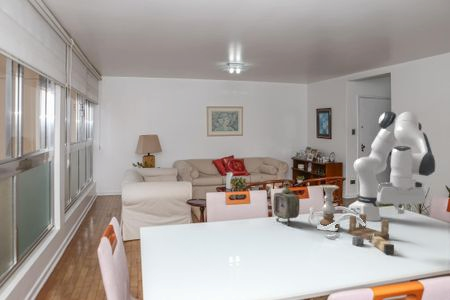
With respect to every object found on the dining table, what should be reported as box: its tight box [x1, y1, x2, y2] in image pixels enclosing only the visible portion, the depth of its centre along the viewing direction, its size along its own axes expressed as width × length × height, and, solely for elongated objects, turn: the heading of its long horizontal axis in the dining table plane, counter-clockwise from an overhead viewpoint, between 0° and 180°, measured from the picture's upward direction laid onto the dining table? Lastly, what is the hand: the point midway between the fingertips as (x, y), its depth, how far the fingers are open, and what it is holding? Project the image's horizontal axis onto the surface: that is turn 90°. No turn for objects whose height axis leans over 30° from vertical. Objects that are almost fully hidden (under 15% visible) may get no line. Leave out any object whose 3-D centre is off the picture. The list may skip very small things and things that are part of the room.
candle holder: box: [319, 184, 341, 229], centre depth 183 cm, size 11×11×24 cm
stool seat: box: [347, 214, 390, 241], centre depth 170 cm, size 16×11×9 cm
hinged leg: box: [369, 236, 395, 255], centre depth 152 cm, size 15×4×4 cm, turn 1°
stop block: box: [351, 236, 365, 247], centre depth 157 cm, size 2×5×4 cm, turn 121°
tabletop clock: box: [273, 180, 300, 226], centre depth 193 cm, size 14×9×25 cm, turn 25°
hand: (400, 213), depth 147 cm, fingers closed
